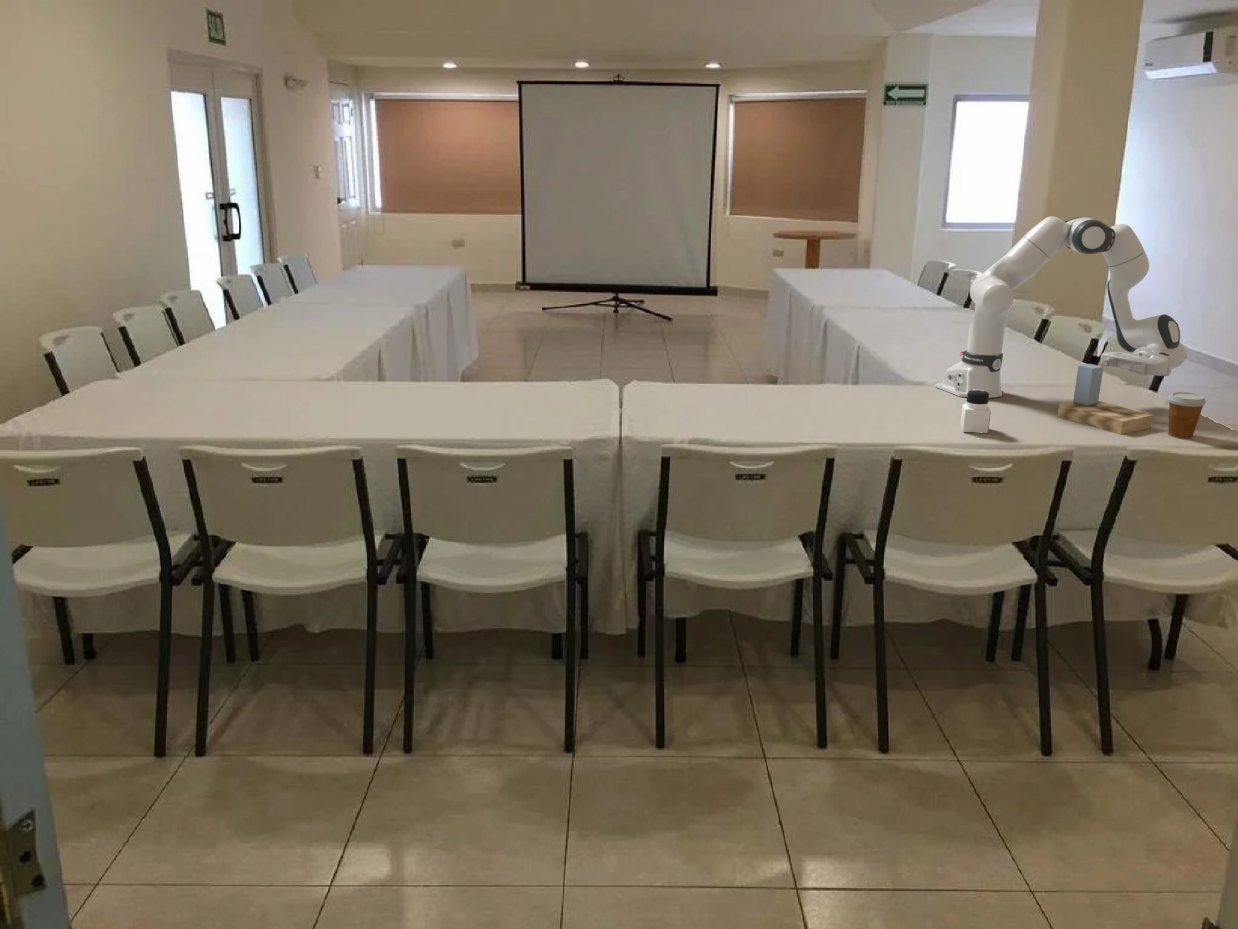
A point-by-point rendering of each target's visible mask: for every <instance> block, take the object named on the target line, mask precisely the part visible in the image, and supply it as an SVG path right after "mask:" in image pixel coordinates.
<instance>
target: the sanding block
mask: <svg viewBox="0 0 1238 929" xmlns="http://www.w3.org/2000/svg"><path fill="white" fill-rule="evenodd" d="M1103 372H1104V366H1103V365H1102V366H1101V365H1096V364H1092V363H1085V364H1079V365H1078V367H1077V373H1076V380H1075V386H1074V394H1073V400H1072V402H1073V403H1074V404H1078V405H1081V406H1085V407H1089V406H1095V405H1098V401H1099V399H1100V393H1101V392H1100V390H1101V385H1102V381H1103V380H1102V379H1103Z"/></svg>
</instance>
